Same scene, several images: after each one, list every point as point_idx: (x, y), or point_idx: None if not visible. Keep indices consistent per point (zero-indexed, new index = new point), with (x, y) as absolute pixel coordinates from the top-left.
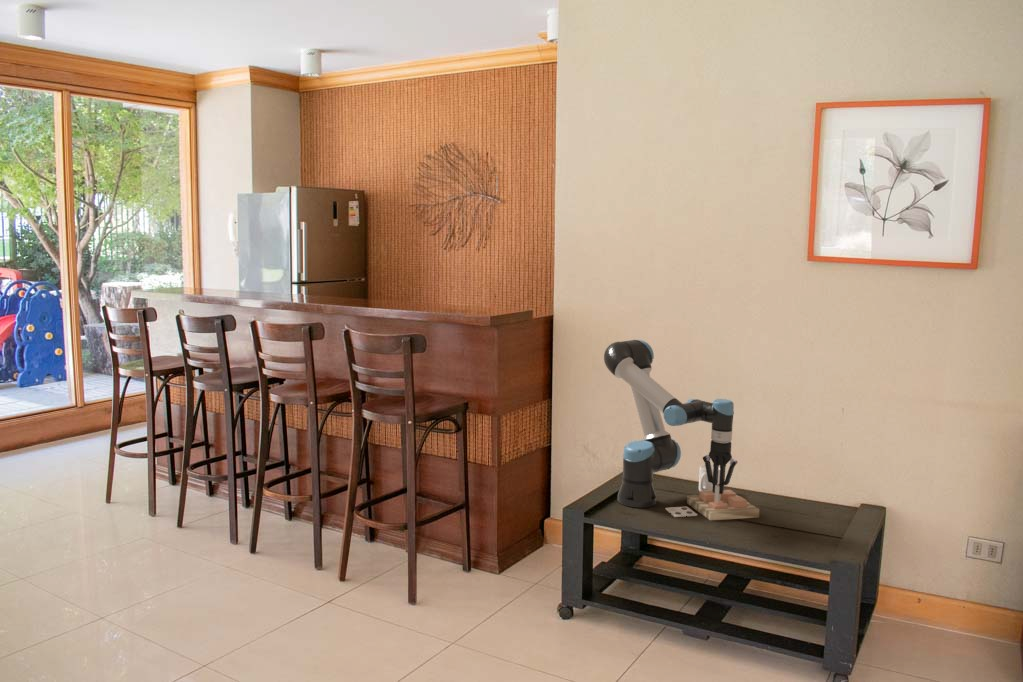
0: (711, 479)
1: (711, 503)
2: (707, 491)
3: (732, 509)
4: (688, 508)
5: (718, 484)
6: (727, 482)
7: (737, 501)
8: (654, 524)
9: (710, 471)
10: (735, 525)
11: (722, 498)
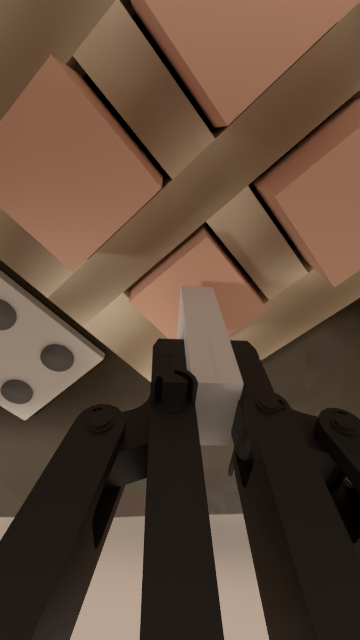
0: (122, 486)
1: (155, 320)
2: (28, 125)
3: (299, 305)
4: (15, 297)
5: (211, 408)
6: (347, 502)
7: (356, 269)
8: (12, 497)
9: (62, 628)
10: (304, 380)
11: (195, 91)
